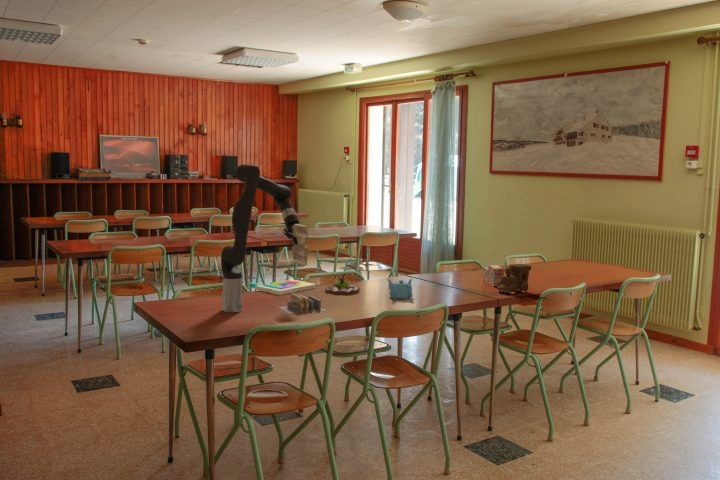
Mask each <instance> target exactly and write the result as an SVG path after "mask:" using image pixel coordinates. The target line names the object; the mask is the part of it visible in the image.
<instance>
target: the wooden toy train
mask: <svg viewBox="0 0 720 480" xmlns="http://www.w3.org/2000/svg"><path fill="white" fill-rule="evenodd" d="M530 271H532V265H529V264H524V263H513V264H512V263H511V264H509V265H508V266H506V267H505V269H504V273H505V275H504V276H502V279H501V281H500V282H499V283H498V285H497V287H496V289H497V290H503V291H502V292H504V291H505V292H508V293H509V292H510V293H511V292H517V291H520V292H521V291H526V292H527V291H528V290H529V283H528V282H529V276H530Z"/></svg>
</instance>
